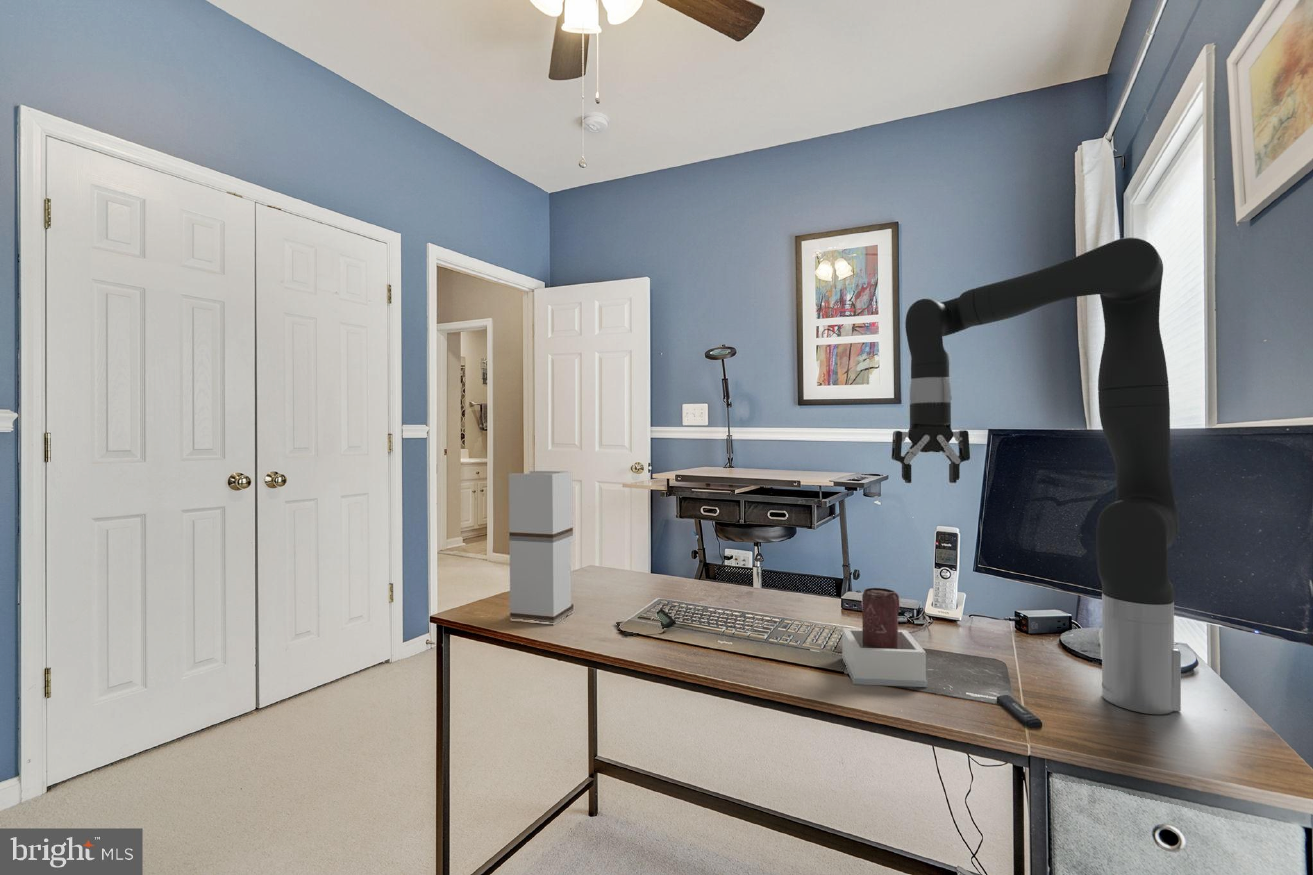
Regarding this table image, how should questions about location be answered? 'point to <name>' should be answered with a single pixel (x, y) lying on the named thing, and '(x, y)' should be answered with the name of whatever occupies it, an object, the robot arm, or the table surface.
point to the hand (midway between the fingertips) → (930, 482)
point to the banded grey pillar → (540, 545)
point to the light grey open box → (884, 661)
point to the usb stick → (1019, 711)
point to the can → (880, 618)
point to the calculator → (665, 621)
